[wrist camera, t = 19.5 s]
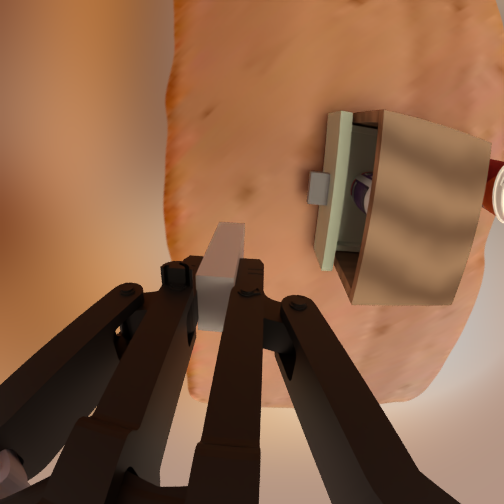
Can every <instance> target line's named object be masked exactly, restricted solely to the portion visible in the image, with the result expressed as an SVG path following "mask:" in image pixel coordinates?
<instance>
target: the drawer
mask: <svg viewBox="0 0 504 504" xmlns="http://www.w3.org/2000/svg"><path fill="white" fill-rule="evenodd" d="M352 119H353V113H352V112H346V111H337V112H332V113H328V120H327V133H326V145H325V155H324V166H323V172H320V171H310V172H309V182H308V192H307V203H308V204H315V205H319V210H318V218H317V226H316V233H315V241H314V251H315V254H316V256H317V259H318V262H319V265H320V267H321V270H324V271H332V269H333V263H334V258H335V252H336V251H350V252H360V248H361V243H362V238H363V233H364V227H365V222H366V216H367V215H366V214H365V213H364V212H362V211H361V210H360V209H359V208H358V207H357V206H356V205H355V204H354V203H353V201H352V199H351V197H350V186H351V183H352V181H353V180H354V178H355V177H356V176H357V175H359V174H360V173H363V172H373V169H374V161H375V153H376V144H377V134H378V130H377V129H372V128H366V127H361V126H355V125H352Z"/></svg>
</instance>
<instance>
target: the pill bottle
mask: <svg viewBox="0 0 504 504" xmlns="http://www.w3.org/2000/svg"><path fill="white" fill-rule="evenodd" d="M372 177H373V172H363V173H360V174H359V175H357V176H356V177H355V178H354V180H353V181H352V183H351V186H350V197H351V199H352V201H353V203H354V204H355V205H356V206H357V207H358V208H359V209H360V210H361V211H362V212H364V213H365V214H366V215H367V210H368V204H369V198H370V191H371V184H372Z"/></svg>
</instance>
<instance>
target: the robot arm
mask: <svg viewBox="0 0 504 504" xmlns="http://www.w3.org/2000/svg"><path fill="white" fill-rule="evenodd" d="M244 233H245V223H229V222H219V224H218V226H217V229H216V231H215V233H214V235H213V237H212V239H211V242H210V244H209V246H208V248H207V250H206V253H205V255H204V256H191V255H190V256H189V257H187V258H186V259H184V260H183V261H172V262H168V263H165V264H163V265H162V266H161V277H162V286H161V288H160V289H159V291H156V292H146V293H143V288H142V286H141V285H139V284H136V283H124V284H121V285H119V286H117V287H115V288H114V289H113V290H111V291H110V292H109V293H108V294H106V295H105V296H104V297H103V298H101V299H100V300H99V301H97V302H96V303H95V304H94V305H93V306H91V307H90V308H89V309H88V310H86V311H85V312H84V313H83V314H81V315H80V316H79V317H78V318H76V319H75V320H74V321H73V322H72V323H71V324H69V325H68V326H67V327H66V328H64V329H63V330H62V331H61V332H60V333H58V334H57V335H56V336H55V337H54V338H53V339H51V340H50V341H49V342H48V343H47V344H46V345H44V346H43V347H42V348H41V349H40V350H39V351H37V353H35V354H34V355H33V356H32V357H31V358H30V359H28V360H27V361H26V362H25V363H24V364H23V365H22V366H21V367H20V368H18V369H17V370H16V371H15V372H14V373H13V374H12V375H11V376H10V377H8V379H6V380H5V381H4V382H3V383H2V384H1V385H0V504H259V483H260V482H259V481H260V417H261V389H262V355H263V348H264V349H267V350H271V351H274V352H275V358H276V361H277V363H278V366H279V369H280V371H281V374H282V377H283V379H284V382H285V385H286V387H287V390H288V393H289V395H290V398H291V400H292V403H293V406H294V408H295V410H296V413H297V416H298V419H299V421H300V424H301V426H302V429H303V432H304V434H305V437H306V439H307V442H308V445H309V447H310V450H311V452H312V455H313V457H314V460H315V462H316V465H317V467H318V470H319V473H320V475H321V478H322V480H323V482H324V485H325V488H326V490H327V493H328V495H329V498H330V500H331V503H332V504H460V503H459V502H458V501H457V500H455V499H454V498H453V497H451V496H450V495H449V494H448V493H446V492H445V491H444V490H442V489H441V488H440V487H439V486H437V485H436V484H435V483H433V482H432V481H431V480H430V479H428V478H427V477H426V476H425V475H424V474H422V473H421V472H420V471H419V470H418V468H417V466H416V465H415V463H414V461H413V460H412V458H411V456H410V454H409V453H408V451H407V449H406V448H405V446H404V444H403V443H402V441H401V439H400V438H399V436H398V434H397V433H396V431H395V429H394V428H393V426H392V424H391V423H390V421H389V420H388V418H387V416H386V415H385V413H384V411H383V410H382V408H381V407H380V405H379V403H378V402H377V400H376V398H375V397H374V395H373V394H372V392H371V390H370V389H369V387H368V386H367V384H366V382H365V381H364V379H363V378H362V376H361V374H360V373H359V371H358V370H357V368H356V367H355V365H354V363H353V362H352V360H351V359H350V357H349V356H348V354H347V352H346V351H345V349H344V348H343V346H342V345H341V343H340V341H339V340H338V338H337V337H336V335H335V334H334V332H333V331H332V329H331V328H330V326H329V324H328V323H327V321H326V320H325V318H324V317H323V315H322V314H321V312H320V311H319V309H318V308H317V306H316V305H315V303H314V302H313V301H312V300H311V299H309V298H307V297H305V296H301V295H291V296H287V297H285V298H283V300H282V301H281V302H278V301H275V300H272V299H270V298H268V297H267V296H266V295H265V294H264V291H263V281H264V264H263V263H262V262H261V260H260V259H246V258H243V255H244ZM197 322H198V330H205V331H215V332H222V336H221V341H220V346H219V351H218V356H217V361H216V366H215V371H214V376H213V381H212V386H211V391H210V396H209V401H208V407H207V412H206V417H205V422H204V427H203V433H202V437H201V441H200V442H199V443H198V444H197V446H196V449H195V453H194V457H193V462H192V468H191V473H190V478H189V483H188V486H183V487H160V466H161V462H162V459H163V454H164V451H165V447H166V443H167V439H168V435H169V432H170V428H171V424H172V421H173V417H174V413H175V409H176V406H177V402H178V399H179V395H180V391H181V388H182V385H183V381H184V377H185V374H186V371H187V367H188V364H189V360H190V357H191V353H192V350H193V346H194V343H195V340H196V325H197ZM119 326H120V330H121V331H120V332H119V334H116V332H115V331H116V329H117V328H118V327H119ZM96 406H97V408H96ZM94 408H96V410H95V412H94V413H93V415H92V416H90V417H88V416H89V415H90V414H91V412H92V411H93V410H94ZM64 445H65V446H64ZM63 446H64V448H63V450H62V452H61V454H60V456H59V459H58V461H57V463H56V465H55V468H54V470H53V472H52V474H51V476H49V477H47V478H45V479H43V480H41V481H40V482H37V483H35V484H33V485H31V486H30V484H29V483H28V480H29V479H31V478H33V477H34V476H36V475H37V474H38V473H39V472H41V471H42V470H43V469H44V468H45V467H46V466H47V465H48V464H49V463H50V462H51V461H52V459H53V458H54V457H55V456H56V454H57V453H58V452H59V451H60V450H61V449H62V447H63Z"/></svg>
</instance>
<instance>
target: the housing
mask: <svg viewBox="0 0 504 504" xmlns="http://www.w3.org/2000/svg"><path fill="white" fill-rule="evenodd" d="M352 125H355V126H361V127H366V128H372V129H377V130H378V134H377V144H376V153H375V161H374V169H373V177H372V184H371V191H370V198H369V204H368V210H367V216H366V222H365V227H364V233H363V238H362V243H361V248H360V252H350V251H336V252H335V258H334V266H335V268H336V270H337V272H338V275H339V277H340V279H341V281H342V284H343V286H344V288H345V291H346V293H347V295H348V298H349V300H350V302H351V305H388V306H431V305H452V302H453V300H454V297H455V294H456V292H457V289H458V286H459V284H460V281H461V278H462V275H463V272H464V269H465V266H466V263H467V260H468V257H469V253H470V250H471V247H472V243H473V240H474V236H475V232H476V228H477V224H478V220H479V216H480V212H481V207H482V203H483V198H484V193H485V187H486V182H487V176H488V169H489V162H490V154H491V145H492V143H491V142H488V141H486V140H483V139H481V138H478V137H475V136H473V135H470V134H467V133H464V132H462V131H459V130H456V129H453V128H450V127H447V126H444V125H440V124H437V123H434V122H431V121H427V120H424V119H420V118H416V117H413V116H409V115H405V114H401V113H397V112H393V111H388V110H374V111H365V112H357V113H353V119H352Z"/></svg>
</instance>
